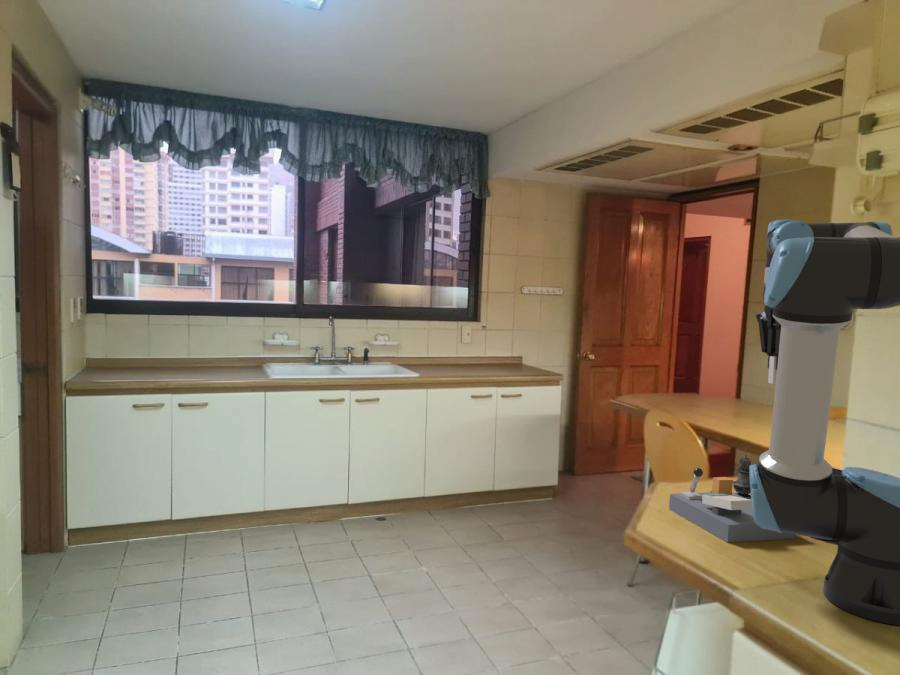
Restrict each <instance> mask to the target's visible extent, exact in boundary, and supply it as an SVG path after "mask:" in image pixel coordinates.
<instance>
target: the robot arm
mask: <svg viewBox="0 0 900 675" xmlns="http://www.w3.org/2000/svg"><path fill="white" fill-rule="evenodd" d="M765 251H766V253H765V267H764V279H763V283H764V284H765V286H764V287H763V295H762V297H763V298H762V301H763V302H764V305H765V306H764V308H763V312H762V313H757V314H756V315H755V318H756V321H757V323H758V331H759V338H760V348H761V349H760V350H761V352H762V353H765V354H766V355H767V357H768V358H767V369H768V378H767V383H768V384H771V385H772V384H773V385H775V386H774V388H775V389H774V396H773V397H774V400H773V409H772V419H771V427H770V428H771V430H770V438H769V440H770V441H769V449H768V450H766V451H764V452H763V453H761V454H760V455H759V457H758V459H759V460H758V463H754V464H751V465H750V466H749V468H750V469H749V476H750V490H751V493H750V495H751V501H752V511H753V518H754V521H755V523H756V524H757V525H758V526H759V527H760V528H763V529H767V530H772V531H778V532H779V533H789V534H796V535H795V536H797V535H798V536H803V537H808V536H809V537H808V538H811V537H815V538H821V539H828V540H835V541H838V543H837V552H836V554H835V557H834V558H833V561H832V563H831V564H830V566H829V569H828V572H827V574H826V575H825V576H824V580H823V586H822V593H823V595H824V597H825V598H826V600H828V601H829V602H830V603H832V604H833V605H835V606H837V607H838V608H840V609H842V610H844V611H845V612H846V611H847V612H848V613H851V614H853V615H856V616H858V617H861V618H864V619H867V620H870V621H873V622H874V621H875V622H879V623H882V624H887V625H894V626H900V477H897V476H895V475H892V474H888V473H885V472H882V471H877V470H874V469H870V468H869V469H868V468H864V467H856V466H854V467H853V466H846V467H844V468H843V471H842V475H834V474H832V468H833V467H832V465H831V464H830V463H829V462H828V461H827V460H826V459H825V453H826V450H825V449H826V443H827V442H826V441H827V435H828V434H827V433H828V428H829V427H828V426H829V420H830V419H829V418H830V409H831V401H832V393H833V387H834V386H833V384H834V376H835V369H836V368H835V367H836V362H837V361H836V360H837V352H838V343H839V337H840V336H839V335H840V330H841V329H842V328H844V327H846V325H849V324H850V323H851V322H852V320H853V312H854V310H883V309H884V310H885V309H891V308H895V307H900V236H897V237H895V236H893V230H892V226H891V225H890V224H889V223H888V222H878V221H877V222H876V221H867V222H866V221H865V222H810V223H809V222H803V221H801V220H797V219H777V220H773V221H770V222H769V223H768V226H767V234H766V250H765Z"/></svg>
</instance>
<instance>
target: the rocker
mask: <svg viewBox="0 0 900 675" xmlns="http://www.w3.org/2000/svg"><path fill="white" fill-rule="evenodd" d="M702 502H703V504H707V505H711V506H715V507H720V508H724V509H728V510H745V509H752V501H751V499H746V498H741V497H736V496H731V495H728V494H705V495H702Z"/></svg>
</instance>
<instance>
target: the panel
mask: <svg viewBox="0 0 900 675" xmlns="http://www.w3.org/2000/svg"><path fill="white" fill-rule="evenodd" d="M735 493H736V492H732V495H731V496H736V497H741V496H739V495H737V494H735ZM705 494H714V493H712V490H711V491H709V492H694V493H691V492H690V491H681V492H680V493H670V494H669V505H668V510H670V512H673V513H675V514H677V515H678V516H680V517H682V518H684V519H685V520H687V521H689V522H691V523H692V524H694V525H695V526H697V527H699V528H701V529H703V530H704V531H706V532H708V533H710V534H711V535H713V536H715V537H717V538H719V540H722V541H724V542H726V543H741V542H742V543H745V542H756V541H757V542H759V541H773V540H789V539H792V540H793V539H796V536H797V535H796V534H789V533H779V532H778V531H772V530H767V529H763V528H760V527H759V526H758V525H757V524H756V523H755V521H754V518H753V511H752V509H745V510H728V509H724V508H720V507H715V506H711V505H707V504H703V502H702V495H705ZM741 498H744V497H741Z"/></svg>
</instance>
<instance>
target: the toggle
mask: <svg viewBox="0 0 900 675" xmlns="http://www.w3.org/2000/svg"><path fill="white" fill-rule="evenodd" d="M703 474H704V471H703V469H702V468H700V467H696V468H694V469H693V479H692V482H691V485H690V487H689V492H691V493H694V492H695V491H696V488H697V485H698V483H699V480H700V477H702V476H703ZM695 493H696V492H695Z"/></svg>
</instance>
